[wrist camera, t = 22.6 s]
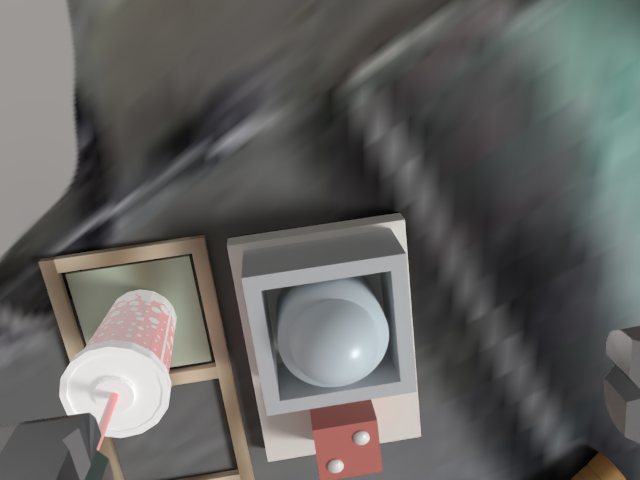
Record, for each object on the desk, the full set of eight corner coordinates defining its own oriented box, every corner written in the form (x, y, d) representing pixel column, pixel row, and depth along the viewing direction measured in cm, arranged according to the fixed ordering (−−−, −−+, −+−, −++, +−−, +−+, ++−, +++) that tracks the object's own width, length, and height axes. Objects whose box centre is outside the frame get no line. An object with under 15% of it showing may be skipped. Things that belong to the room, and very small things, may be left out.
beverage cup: (81, 300, 41) (0, 431, 28) (162, 265, 41) (117, 382, 28) (126, 368, 44) (69, 520, 31) (202, 336, 43) (178, 475, 30)
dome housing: (399, 212, 42) (422, 243, 36) (416, 424, 48) (437, 478, 43) (227, 238, 41) (223, 273, 36) (267, 448, 48) (269, 506, 42)
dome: (372, 256, 40) (394, 301, 34) (381, 346, 43) (402, 403, 36) (269, 271, 40) (270, 320, 34) (284, 361, 42) (288, 422, 36)
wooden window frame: (204, 234, 41) (203, 237, 40) (272, 567, 52) (272, 573, 51) (41, 258, 40) (38, 262, 40) (145, 589, 51) (143, 595, 51)
